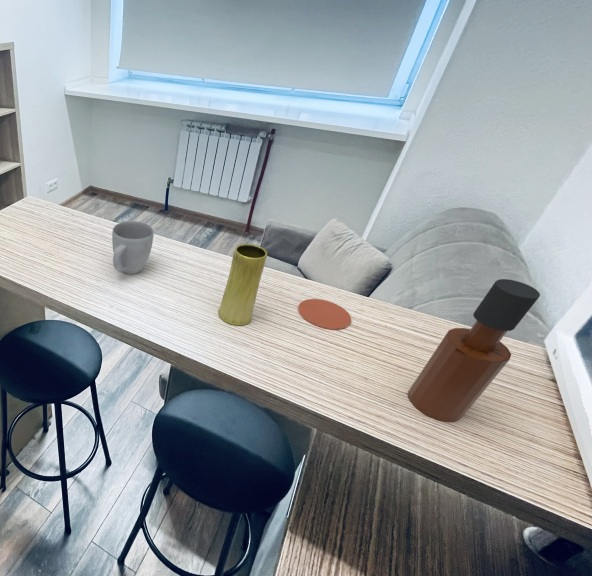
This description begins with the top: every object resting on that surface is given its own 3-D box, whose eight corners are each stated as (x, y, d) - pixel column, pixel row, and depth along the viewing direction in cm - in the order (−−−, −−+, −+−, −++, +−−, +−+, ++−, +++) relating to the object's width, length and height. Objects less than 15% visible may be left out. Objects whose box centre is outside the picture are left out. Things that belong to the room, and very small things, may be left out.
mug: (122, 254, 98) (124, 217, 92) (156, 264, 94) (160, 226, 88) (96, 278, 90) (97, 239, 84) (132, 290, 86) (135, 250, 80)
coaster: (362, 322, 76) (362, 321, 75) (325, 334, 73) (325, 333, 73) (322, 296, 83) (323, 294, 82) (287, 306, 80) (288, 304, 80)
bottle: (472, 414, 59) (543, 330, 50) (441, 427, 57) (508, 343, 48) (427, 382, 64) (483, 300, 55) (397, 394, 62) (450, 311, 53)
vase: (212, 308, 80) (225, 244, 72) (240, 303, 81) (256, 240, 73) (228, 328, 75) (245, 262, 67) (257, 322, 76) (278, 257, 68)
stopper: (508, 344, 52) (548, 293, 47) (487, 352, 51) (526, 301, 46) (473, 325, 55) (508, 276, 50) (453, 332, 54) (487, 283, 49)
